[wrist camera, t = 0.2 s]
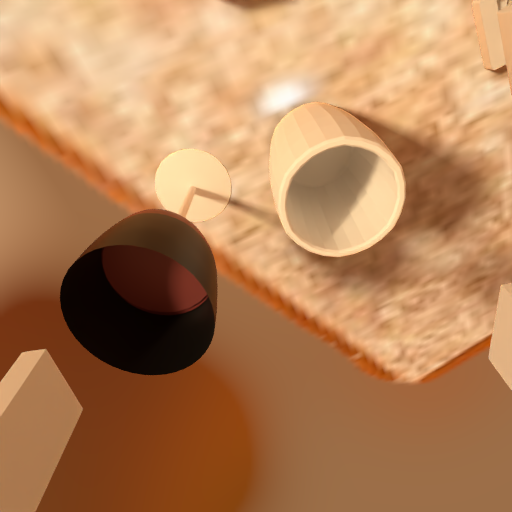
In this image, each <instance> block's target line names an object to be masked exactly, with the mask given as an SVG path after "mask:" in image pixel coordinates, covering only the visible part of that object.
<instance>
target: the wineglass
mask: <svg viewBox="0 0 512 512" xmlns="http://www.w3.org/2000/svg"><path fill="white" fill-rule="evenodd" d="M155 188H156V194H157V196H158V198H159V200H160V202H161V204H162V205H163V206H164V207H165V208H166V209H167V210H163V209H148V210H144V211H140V212H137V213H134V214H132V215H130V216H128V217H126V218H125V219H123V220H121V221H120V222H118V223H117V224H115V225H114V226H112V227H111V228H110V229H108V230H107V231H106V232H104V233H103V234H102V235H101V236H100V237H99V238H98V239H97V240H95V241H94V242H93V243H92V244H91V245H90V246H89V247H88V248H87V249H86V250H85V251H84V252H83V253H82V254H81V256H80V257H79V258H78V259H77V260H76V261H75V263H74V264H73V265H72V266H71V267H70V268H69V269H68V271H67V273H66V275H65V277H64V279H63V282H62V286H61V292H60V302H61V309H62V312H63V316H64V319H65V321H66V323H67V325H68V327H69V329H70V331H71V332H72V333H73V335H74V336H75V338H76V339H77V340H78V341H79V342H80V343H81V344H82V345H83V347H84V348H86V349H87V350H88V351H89V352H90V353H92V354H93V355H94V356H96V357H97V358H99V359H100V360H102V361H103V362H106V363H107V364H109V365H111V366H113V367H116V368H119V369H121V370H124V371H128V372H131V373H137V374H143V375H162V374H168V373H173V372H177V371H179V370H182V369H185V368H186V367H188V366H190V365H192V364H193V363H195V362H196V361H197V360H198V359H200V358H201V356H202V355H203V354H204V353H205V352H206V350H207V349H208V347H209V345H210V344H211V341H212V338H213V335H214V328H215V321H216V313H217V270H216V265H215V260H214V257H213V254H212V251H211V249H210V246H209V245H208V243H207V241H206V239H205V238H204V236H203V235H202V233H201V232H200V231H199V230H198V228H197V227H196V226H195V225H194V224H193V223H191V222H200V221H206V220H209V219H212V218H214V217H215V216H217V215H218V214H219V213H221V212H222V211H223V210H224V208H225V207H226V205H227V204H228V202H229V199H230V195H231V180H230V177H229V175H228V173H227V170H226V168H225V167H224V166H223V165H222V164H221V162H220V161H219V160H218V159H217V158H215V157H214V156H212V155H210V154H209V153H207V152H204V151H201V150H197V149H181V150H179V151H176V152H174V153H171V154H170V155H169V156H167V157H166V158H165V159H164V160H163V161H162V162H161V164H160V166H159V167H158V169H157V171H156V176H155ZM190 221H191V222H190Z"/></svg>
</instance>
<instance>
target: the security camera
mask: <svg viewBox="0 0 512 512" xmlns="http://www.w3.org/2000/svg"><path fill="white" fill-rule="evenodd" d="M507 1H508V0H473V1H472V4H471V6H472V11H473V16H474V21H475V26H476V30H477V35H478V40H479V45H480V50H481V55H482V60H483V65H484V68H485V69H491V70H496V69H498V68H500V67H502V66H504V65H506V66H507V72H508V78H509V83H510V89H511V95H512V3H511V4H510V5H508V6H507Z"/></svg>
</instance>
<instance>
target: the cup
mask: <svg viewBox="0 0 512 512" xmlns="http://www.w3.org/2000/svg"><path fill="white" fill-rule="evenodd" d="M269 173H270V183H271V188H272V193H273V198H274V202H275V206H276V209H277V212H278V215H279V218H280V221H281V223H282V225H283V227H284V229H285V232H286V234H287V235H288V236H289V237H290V238H291V239H292V240H293V241H294V242H295V243H296V244H298V245H299V246H301V247H303V248H304V249H306V250H307V251H309V252H312V253H316V254H319V255H322V256H331V257H342V256H347V255H352V254H356V253H358V252H361V251H363V250H366V249H368V248H370V247H371V246H373V245H374V244H376V243H377V242H379V241H380V240H382V239H383V238H384V237H385V236H386V235H387V234H388V233H389V232H390V231H391V230H392V229H393V228H394V227H395V225H396V223H397V221H398V219H399V217H400V215H401V213H402V210H403V206H404V203H405V199H406V181H405V177H404V173H403V169H402V166H401V165H400V163H399V162H398V160H397V159H396V158H395V156H394V155H393V153H392V152H391V151H390V150H389V148H388V147H387V146H386V144H385V143H384V142H383V141H382V140H381V139H380V138H379V136H378V135H377V134H376V133H375V132H374V131H372V130H371V129H370V128H369V127H367V126H366V125H365V124H363V123H362V122H361V121H359V120H358V119H357V118H356V117H354V116H353V115H351V114H350V113H348V112H346V111H344V110H342V109H340V108H338V107H335V106H332V105H330V104H327V103H320V102H312V103H308V104H304V105H301V106H299V107H297V108H295V109H293V110H291V111H290V112H289V113H288V114H287V115H286V116H285V117H284V118H282V120H281V121H280V122H279V124H278V125H277V127H276V128H275V130H274V134H273V137H272V140H271V149H270V161H269Z"/></svg>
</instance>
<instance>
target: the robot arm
mask: <svg viewBox="0 0 512 512" xmlns="http://www.w3.org/2000/svg"><path fill="white" fill-rule="evenodd" d="M488 358H489V360H490V361H491V363H492V364H493V365H494V367H495V368H496V370H497V371H498V372H499V374H500V375H501V376H502V378H503V379H504V381H505V382H506V383H507V385H508V386H509V387H510V389H511V390H512V283H509V284H502V285H501V287H500V293H499V299H498V305H497V310H496V316H495V322H494V328H493V334H492V339H491V345H490V351H489V357H488ZM82 410H83V408H82V407H81V405H80V403H79V402H78V400H77V398H76V397H75V395H74V394H73V392H72V390H71V389H70V387H69V385H68V384H67V382H66V381H65V379H64V377H63V376H62V374H61V372H60V371H59V369H58V368H57V366H56V365H55V363H54V361H53V359H52V358H51V356H50V355H49V353H48V351H47V350H46V349H43V350H36V351H28V352H22V354H21V355H20V356H19V358H18V359H17V360H16V362H15V363H14V365H13V366H12V367H11V368H10V370H9V371H8V372H7V374H6V375H5V377H4V378H3V379H2V381H1V382H0V512H35V511H36V509H37V507H38V505H39V502H40V500H41V498H42V496H43V494H44V492H45V490H46V487H47V485H48V483H49V481H50V479H51V476H52V475H53V472H54V470H55V468H56V466H57V464H58V462H59V460H60V457H61V455H62V453H63V451H64V449H65V447H66V444H67V442H68V440H69V438H70V436H71V434H72V432H73V429H74V427H75V425H76V423H77V421H78V419H79V416H80V414H81V412H82Z"/></svg>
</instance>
